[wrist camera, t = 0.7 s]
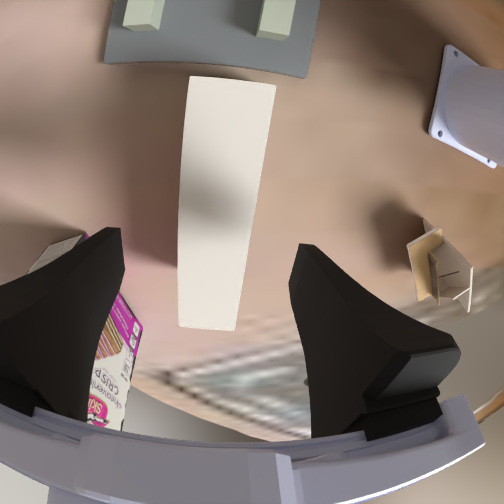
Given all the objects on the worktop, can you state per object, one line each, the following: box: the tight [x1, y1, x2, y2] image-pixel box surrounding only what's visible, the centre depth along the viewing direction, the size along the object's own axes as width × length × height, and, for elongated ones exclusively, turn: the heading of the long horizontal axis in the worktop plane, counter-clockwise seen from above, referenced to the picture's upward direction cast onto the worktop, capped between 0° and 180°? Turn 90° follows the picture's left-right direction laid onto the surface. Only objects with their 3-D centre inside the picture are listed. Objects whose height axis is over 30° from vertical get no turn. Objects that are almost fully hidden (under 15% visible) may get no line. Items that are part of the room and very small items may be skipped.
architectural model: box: [407, 219, 473, 312], centre depth 19 cm, size 3×7×7 cm, turn 30°
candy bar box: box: [26, 233, 143, 431], centre depth 15 cm, size 11×5×16 cm, turn 13°
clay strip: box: [178, 76, 276, 331], centre depth 16 cm, size 4×14×6 cm, turn 171°
